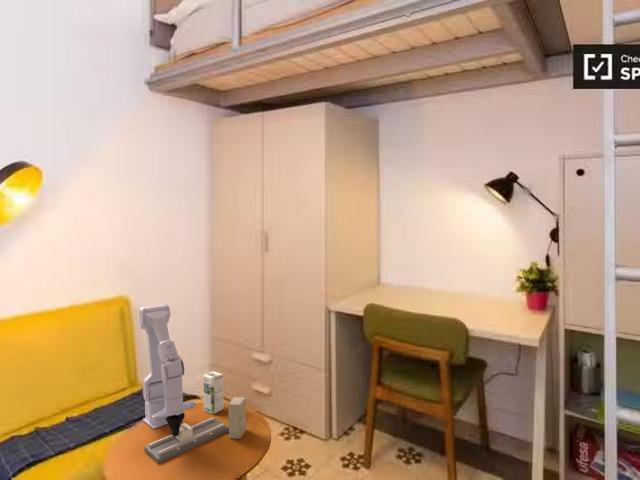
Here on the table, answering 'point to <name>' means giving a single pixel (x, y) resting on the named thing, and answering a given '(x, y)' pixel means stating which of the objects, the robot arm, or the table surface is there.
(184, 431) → the fader tab
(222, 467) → the table surface
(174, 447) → the gray slider track
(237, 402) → the skincare box
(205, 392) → the syrup box
